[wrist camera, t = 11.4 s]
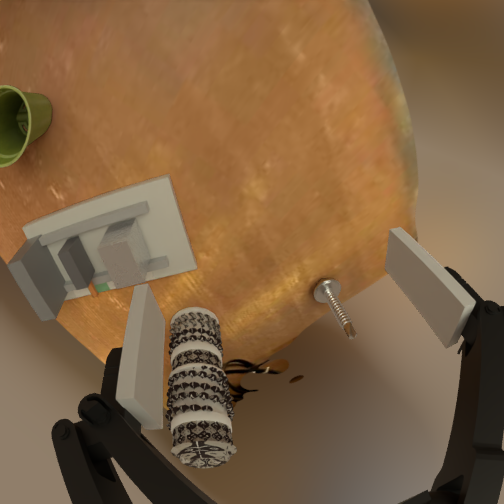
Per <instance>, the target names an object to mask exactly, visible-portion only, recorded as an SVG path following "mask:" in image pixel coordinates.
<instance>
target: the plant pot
mask: <svg viewBox="0 0 504 504" xmlns="http://www.w3.org/2000/svg"><path fill="white" fill-rule="evenodd" d="M25 104H26V107H25V108H24V109H23V107H24V105H25ZM51 117H52V106H51V103H50V101H49V100H48V99H47V98H46V97H45V96H44V95H41V94H36V93H28V92H22V91H20V90H19V89H18V88H16V87H13V86H9V85H3V86H0V167H7V166H10V165H11V164H13V163H14V162H16V161H17V160H18V159H19V158H20V157H21V155H22V154H23V153H24V151H25V149H26V147H27V146H28V145H29V144H30V143H32V142H33V141H34V140H36V139H37V138H38V137H40V136H41V135H42V134H44V133H45V132H46V130H47V129H48V127H49V126H50V123H51V120H52V119H51ZM22 125H24V126H25V128H26V129H27V130H28V132H26V131H25V130H24V129H23V126H22Z"/></svg>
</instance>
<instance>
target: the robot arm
mask: <svg viewBox="0 0 504 504" xmlns="http://www.w3.org/2000/svg"><path fill="white" fill-rule="evenodd" d="M385 270H386V271H387V273H388V274H389V275H390V276H391V277H392V278H393V280H394V281H395V282H396V284H397V285H398V286H399V287H400V288H401V289H402V291H403V292H404V293H405V295H406V296H407V297H408V298H409V300H410V301H411V302H412V304H413V305H414V306H415V307H416V309H417V310H418V311H419V312H420V314H421V315H422V316H423V317H424V319H425V320H426V322H427V323H428V324H429V326H430V327H431V328H432V330H433V331H434V332H435V334H436V335H437V337H438V338H439V339H440V341H441V342H442V344H443V345H444V346H445V348H448V347H450V346H452V345H454V344H456V343H457V342H458V340H459V338H460V336H461V335H462V336H463V337H464V341H463V343H462V345H461V346H460V349H459V350H458V354H460V352H461V350H462V360H461V371H460V380H459V388H458V396H457V402H456V409H455V414H454V420H453V425H452V431H451V435H450V440H449V444H448V448H447V452H446V456H445V459H444V463H443V466H442V469H441V471H440V472H439V474H438V475H437V477H436V479H435V481H434V483H433V486H432V489H431V491H430V492H428V490H426V491H424V492H422V493H420V494H418V495H416V496H414V497H411V498H409V499H407V500H405V501H403V502H401V503H399V504H497V503H498V499H499V495H500V491H501V487H502V482H503V478H504V451H503V450H502V440H503V431H504V306H499V305H498V304H497V303H495V302H493V301H484V300H483V299H482V298H481V297H480V296H479V295H478V294H477V293H476V292H475V291H474V290H473V289H472V288H471V287H470V285H469V284H467V283H466V281H464V279H462V278H461V276H460V275H459V274H458V273H457V272H456V271H454V270H453V269H451V268H449V267H444V268H443V267H442V266H441V265H440V264H439V263H438V262H437V261H436V260H435V259H434V258H433V257H432V256H431V255H430V254H429V253H428V252H427V251H426V250H425V249H424V248H423V247H422V246H421V245H420V244H418V243H417V242H416V241H415V240H414V239H413V238H412V237H411V236H410V235H409V234H408V233H406V232H405V231H404V230H403V229H402V228H401V227H398V228H394V229H390V230H389V239H388V248H387V255H386V263H385ZM164 338H165V319H164V317H163V315H162V313H161V310H160V308H159V306H158V304H157V302H156V300H155V297H154V295H153V293H152V291H151V288H150V286H149V284H148V283H147V284H142V285H137V286H135V287H134V291H133V296H132V301H131V305H130V310H129V315H128V320H127V326H126V331H125V337H124V343H123V347H121V348H114V349H112V350H111V352H110V353H109V355H108V357H107V360H106V366H105V368H106V369H105V371H104V377H103V383H102V389H101V395H100V394H96V393H93V394H89V395H87V396H85V397H84V398H83V399H82V400H81V401H80V404H79V406H78V414H79V417H80V418H81V419H82V421H80V422H77V423H72V422H71V421H70V420H68V419H61V420H59V421H58V422H56V423H55V425H54V426H53V429H52V441H53V445H54V448H55V452H56V456H57V459H58V463H59V466H60V469H61V473H62V476H63V478H64V482H65V485H66V488H67V490H68V493H69V496H70V498H71V501H72V503H73V504H132V502H131V500H130V498H129V496H128V494H127V492H126V490H125V488H124V486H123V484H122V482H121V480H120V478H119V476H118V474H117V472H116V470H115V467H114V465H113V463H112V461H111V458H112V457H113V458H114V459H115V460H116V461H117V463H118V464H119V465H120V467H121V468H122V469H123V470H124V472H125V473H126V474H127V475H128V476H129V478H130V479H131V480H132V481H133V482H134V483H135V485H136V486H137V487H138V488H139V489H140V490H141V491H142V492H143V493H144V494H145V496H146V497H147V498H148V499H149V500H150V501H151V502H152V503H153V504H217V503H216V502H215V501H213V500H212V499H211V498H210V497H208V496H207V495H206V494H205V493H203V492H202V491H201V490H200V489H199V488H198V487H196V486H195V485H194V484H193V483H192V482H191V481H190V480H188V479H187V478H186V477H185V476H184V475H183V474H182V473H181V472H180V471H179V470H177V469H176V468H175V467H174V466H173V465H172V464H171V463H170V462H169V461H168V460H167V459H166V458H165V457H164V456H163V455H162V454H161V453H160V452H159V451H158V450H157V449H156V448H155V447H154V446H153V445H152V444H151V443H150V442H149V440H148V439H146V437H145V436H144V435H143V434H142V433H141V425H142V426H143V427H144V428H145V429H146V430H151V429H163V362H164Z"/></svg>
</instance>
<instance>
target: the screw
mask: <svg viewBox="0 0 504 504" xmlns="http://www.w3.org/2000/svg"><path fill="white" fill-rule="evenodd" d="M340 291H341V285H340V283H339V281H337V280H336V279H329V278H324V279H321V280H320V281H319V282H318V283H317V284H316V287H315V289H314V293H313V295H314V298H315V299H316V301H318V302H321V303H326V302H327V303H328V304H329V306H330V308H331V310H332V312H333V314H334V316H335V317H336V319H337V321H338V323H339V325H340V326H341V327H342V329H343V330H345V332H346V334H347V336H348V337H349V339H354V338H356V336H357V333H356V331H355V330H354V328H353V326H352V324H351V323H352V321H350V320H351V319H350V318H349V316H348V315H347V313H346V311H345V310H344V308H343V305H342V304H341V303H340V300H339V299H338V298H337V296H338V295H339V293H340Z"/></svg>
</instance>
